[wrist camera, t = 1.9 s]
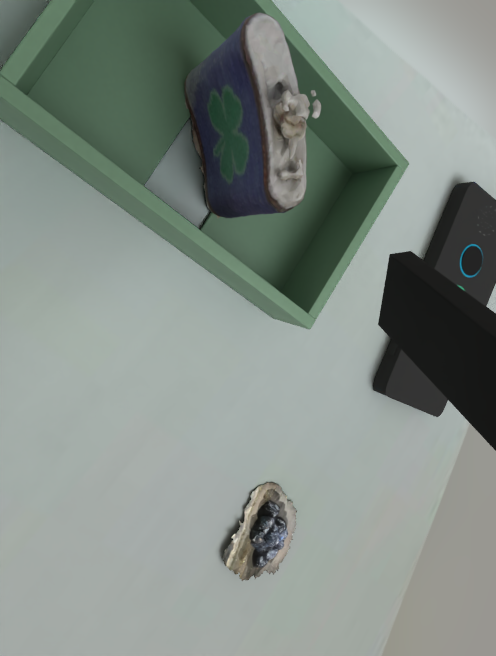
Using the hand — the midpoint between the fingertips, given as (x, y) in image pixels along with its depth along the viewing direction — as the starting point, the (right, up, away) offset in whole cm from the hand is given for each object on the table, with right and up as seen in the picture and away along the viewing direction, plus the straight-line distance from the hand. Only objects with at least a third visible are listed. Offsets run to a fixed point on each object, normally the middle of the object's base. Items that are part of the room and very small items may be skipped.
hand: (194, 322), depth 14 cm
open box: (-1, +12, +16) cm, 20 cm away
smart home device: (+19, +2, +29) cm, 35 cm away
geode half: (+2, -16, +24) cm, 29 cm away
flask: (-1, +12, +16) cm, 20 cm away
